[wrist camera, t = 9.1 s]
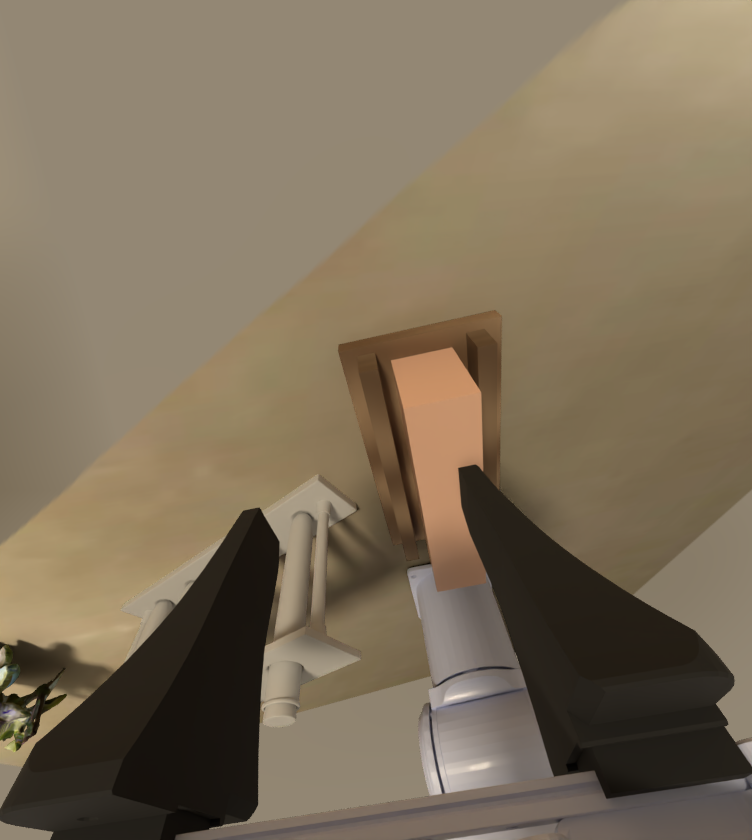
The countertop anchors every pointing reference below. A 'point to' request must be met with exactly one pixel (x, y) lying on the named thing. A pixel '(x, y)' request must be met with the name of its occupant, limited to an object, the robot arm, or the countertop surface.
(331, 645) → the test tube rack
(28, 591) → the countertop surface
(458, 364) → the peach rectangular block
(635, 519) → the countertop surface
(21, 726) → the passion flower
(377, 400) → the strip rack
